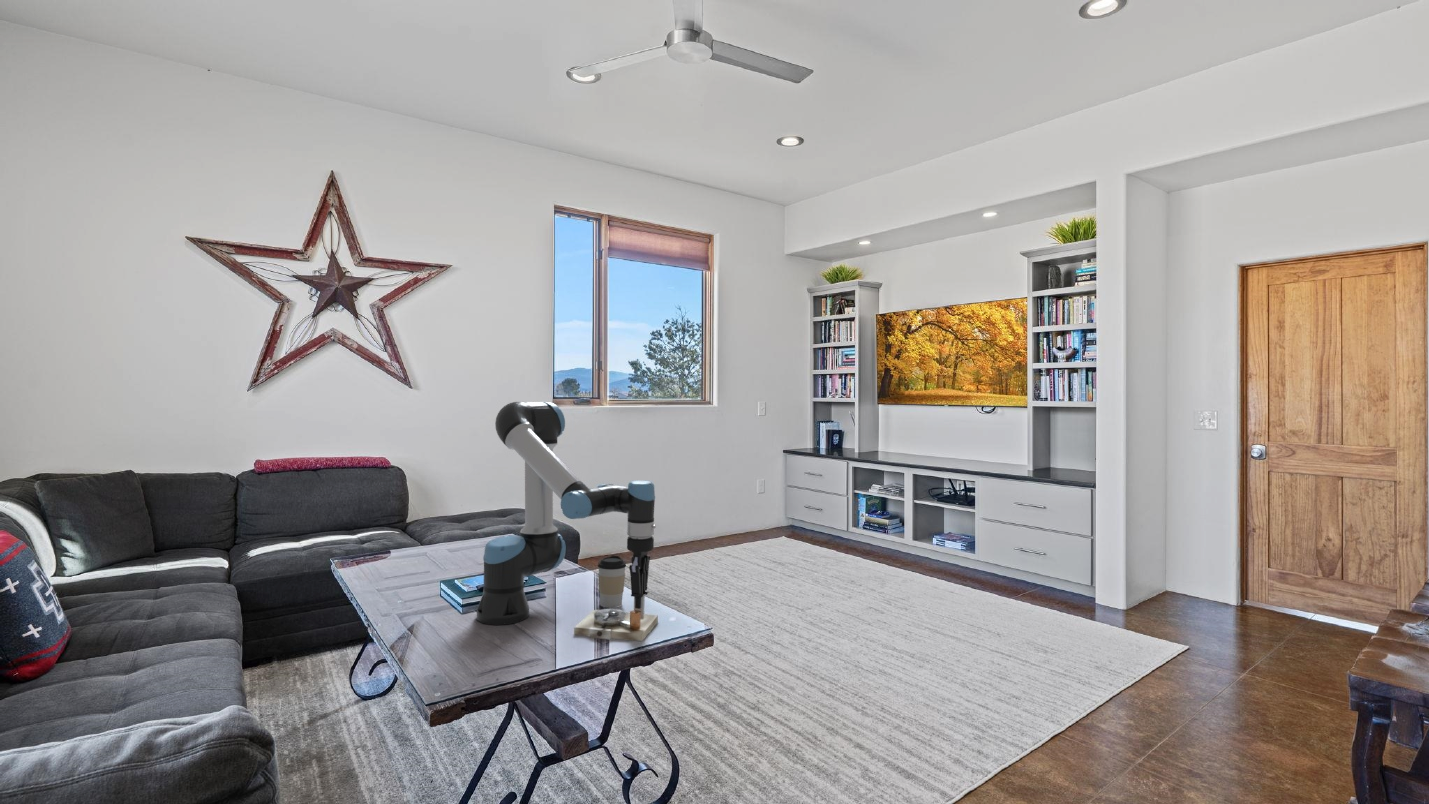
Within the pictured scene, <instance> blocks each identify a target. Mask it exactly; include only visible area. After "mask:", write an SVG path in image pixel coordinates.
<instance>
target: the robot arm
mask: <svg viewBox="0 0 1429 804" xmlns="http://www.w3.org/2000/svg"><path fill="white" fill-rule="evenodd" d="M565 427H566V420H565V415H564V412H563V411H562V409H561V408H560V407H559V406H558V405H557V404H555V403H553V402H550V401H548V402H547V401H513V402H509V403H507V404H506V405H504V406H503V407H502V408H501V409H500V410H499V411H498V413H497V415H496V418H495V431H496V433H497V436H498V438H499V440H500V441H501V442H502V443H503V444H504V445H505V446H506V447H507V448H508V449H509V450H512V451H513V450H514V451H515V452H516V454H518V455H519V456H520V457H521V458H522V460H524V526H523V527H522V528H521V529H520V532H519V533H520V534H519V535H513V534H511V535H507V536H506V535H505V536H504V535H503V536H499V537H495V538H493V539H491V540H490V541H488V542H487V543H486V544H485V546H484V551H483V553H484V554H483V557H482V558H483V591H482V595H481V598H480V600H479V604H478V607H477V608H476V609H477V610H476V621H478V622H479V623H482V624H485V625H493V626H495V625H496V626H499V625H501V626H502V625H510V624H516V623H519V622H523V621H525V620H526V619H527V618H528V617H530V606H529V603H528V599H527V596H526V594H525V590H524V589H525V583H524V582H525V578H527V577H530V576H534V575H537V574H540V573H541V574H542V573H546V572H550V571H551V570H554V569H556V568H558V567H559V566H560V565H561V564H562V563H563V561H564V559H565V557H566V551H567V550H566V549H567V548H566V542H565V540H564V539H563V536H562V535H561V534H560V533H559V528H558V527H557V526H555V524H554V507H553V506H554V503H553V501H554V499H553V496H554V494H556V495H557V497H558V498H559V499H560V509H562V510H561V511H562V514H563V515H564V516H565V517H566V518H567V519H570V520H576V519H578V520H579V519H585V518H588V517H593V516H597V515H604V514H608V513H613V512H614V513H623V514H627V522H626V523H627V524H626V525H627V526H626V527H627V529H626V534H627V538H626V549H627V550H628V551H629V552H632V557H631V564H632V565H631V564H630V565H629V566H628V567H629V568H628V569H629V573H630V575H629V576H630V588H631V594H630V597H633V610H638V611H641V619H642V620H643V619H644V614H645V602H646V599H645V597H646V595H648V594H649V592H648V591H647V590H648V583H649V582H648V580H649V570H650V568H649V567H650V562H651V561H650V560H651V555H648V553H649V552H652V551H653V550H654V546H655V544H654V543H655V541H654V540H655V539H654V536H653V535H654V534H655V529H657V528H656V527H657V526H656V524H654V523H655V501H656V494H655V484H654V483H653V482H652V481H649V480H632V481H630V482H628V484H627V485H628V486H625V485H624V486H623V485H618V484H617V485H616V484H614V483H613V484H612V483H608V484H607V483H602V484H599V485H598V486H597V487H594V488H592V487H591V488H588V486H587V485H586V484H585V483H583V481H582V480H581V479H580V478H579V477H578V476H577V475H576V474H575V473H574V472H573V471H572V470H571V469H570V468H569V467H568V465H567V464H566V463H564V462H563V461H562V459H560V458H559V456H558V455H557V454H555V453H554V451H553V449H554V448H555V447H556V446H557V445H558V438H559V437H560V436H561V435H562V434H563V432H564V431H565V429H566V428H565Z"/></svg>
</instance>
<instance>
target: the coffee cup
mask: <svg viewBox="0 0 1429 804" xmlns="http://www.w3.org/2000/svg"><path fill="white" fill-rule="evenodd" d="M597 563H598V564H597V568H598V574H597V575H598V576H597V577H598V578H597V579H598V592H599V603H600V604H599V605H600V606H601V607H603V608H606V609H615V608H618V607H621V606H622V604H623V595H624V594H623V593H624V592H625V591H624V589H625V581H626V579H625V578H626V567H627V565H626V564H627V562H626V561H624V559H623V558H622V557H620V556H619V555H611V556H605V557H602V558H601V559H600V561H598V562H597Z"/></svg>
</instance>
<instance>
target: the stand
mask: <svg viewBox="0 0 1429 804" xmlns="http://www.w3.org/2000/svg"><path fill="white" fill-rule="evenodd" d="M599 610H600V609H594V610H592V611H591V612H590V613H589V614H588V615H586V616H585V617H584V618H583V619H582V620H581V621H580V622H578V623H577V624H576V625H575V626H574V627H573V629H574V630H573V635H577V636H587V637H589V638H591V639H601V640H611V639H615V640H616V639H618V640H619V639H620V640H627V641H637V642H642V641H643V640H645V638H646V637H647V636H648V635H649V634H650V632H651V631H652V630H653V628H655V626H656V625H657V624H658V622H659V615H656V614H648V613H644V619H643V620H642V619H641V624H640V629H638V630H632V629H630V628H627V627H624V626H621V625H615V626H602V625H598V624H596V623H595V622H594V613H595V612H596V611H599ZM624 612H625V621H628V622H630V612H626V611H624Z"/></svg>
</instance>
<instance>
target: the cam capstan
mask: <svg viewBox="0 0 1429 804" xmlns="http://www.w3.org/2000/svg"><path fill="white" fill-rule="evenodd" d="M598 610H599V611H596V612H595V613H594V622H595V623H596V624H598V625H602V626H615V625H621V626H624V627H627V628H630V629H632V630H638V629H640V624H641V611H638V610H634V609H633V610H630V611H629V613H630V622H628V621H625V612H626V611H624V610H622V609H618V608H604V609H598Z"/></svg>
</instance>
